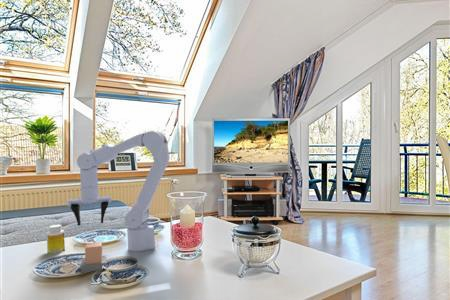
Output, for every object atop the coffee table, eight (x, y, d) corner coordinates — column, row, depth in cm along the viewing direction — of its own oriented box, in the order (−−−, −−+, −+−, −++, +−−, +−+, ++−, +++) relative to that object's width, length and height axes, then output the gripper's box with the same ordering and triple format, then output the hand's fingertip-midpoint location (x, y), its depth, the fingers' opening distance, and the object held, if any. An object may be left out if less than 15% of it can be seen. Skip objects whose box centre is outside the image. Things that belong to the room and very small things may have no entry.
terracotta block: (102, 257, 101) (101, 241, 100) (101, 262, 96) (101, 246, 96) (86, 259, 99) (86, 243, 99) (85, 264, 95) (85, 247, 95)
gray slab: (106, 261, 103) (106, 255, 103) (106, 269, 96) (106, 262, 96) (82, 264, 100) (82, 258, 100) (81, 272, 94) (80, 266, 94)
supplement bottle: (66, 254, 114) (65, 225, 114) (49, 258, 110) (48, 228, 110) (62, 250, 118) (61, 223, 118) (46, 253, 115) (44, 225, 114)
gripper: (65, 189, 109) (67, 228, 109) (110, 186, 113) (111, 224, 114) (68, 186, 115) (69, 223, 116) (110, 184, 120) (112, 219, 120)
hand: (90, 223), depth 115 cm, fingers open, 7 cm apart
